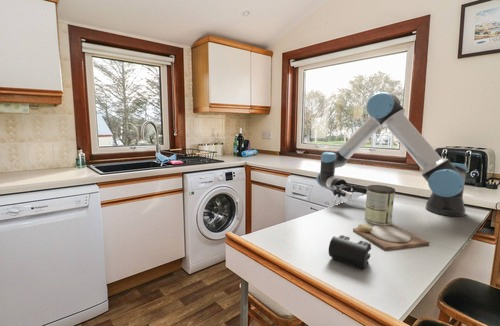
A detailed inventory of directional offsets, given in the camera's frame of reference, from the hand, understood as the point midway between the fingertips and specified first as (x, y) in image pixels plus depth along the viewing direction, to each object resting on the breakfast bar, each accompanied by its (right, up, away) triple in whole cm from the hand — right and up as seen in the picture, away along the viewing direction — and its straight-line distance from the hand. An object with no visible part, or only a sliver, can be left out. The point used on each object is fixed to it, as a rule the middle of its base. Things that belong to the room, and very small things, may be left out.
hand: (364, 196), depth 121 cm
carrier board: (-1, -12, -24) cm, 27 cm away
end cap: (-22, -14, -42) cm, 50 cm away
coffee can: (+2, -9, -8) cm, 12 cm away
